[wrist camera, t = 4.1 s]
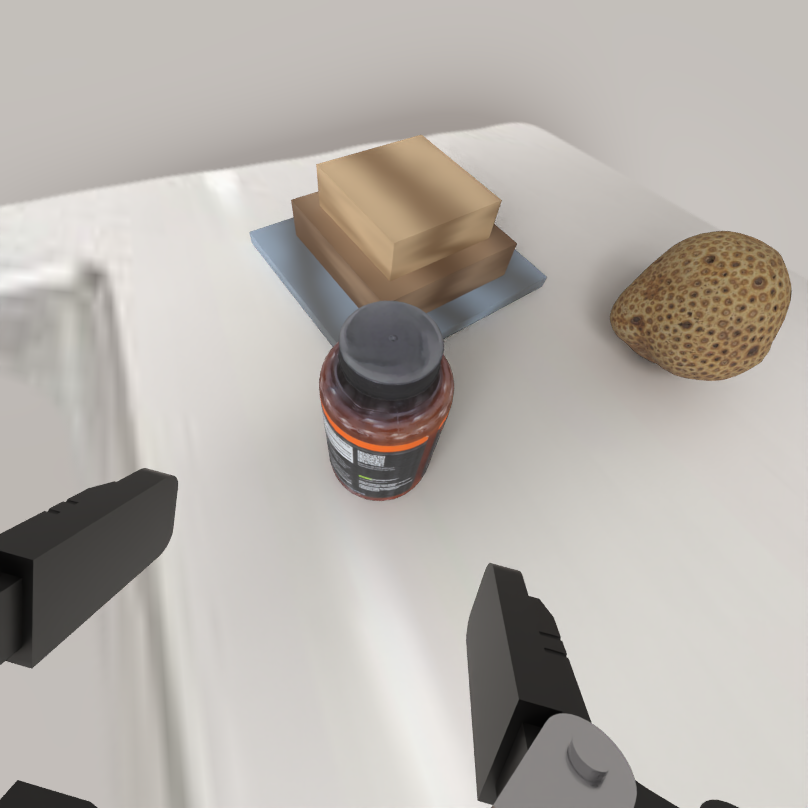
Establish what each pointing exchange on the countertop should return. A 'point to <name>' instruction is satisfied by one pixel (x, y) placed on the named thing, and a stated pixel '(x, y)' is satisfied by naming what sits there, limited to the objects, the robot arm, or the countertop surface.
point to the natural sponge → (706, 306)
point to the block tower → (397, 240)
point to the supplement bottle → (385, 398)
